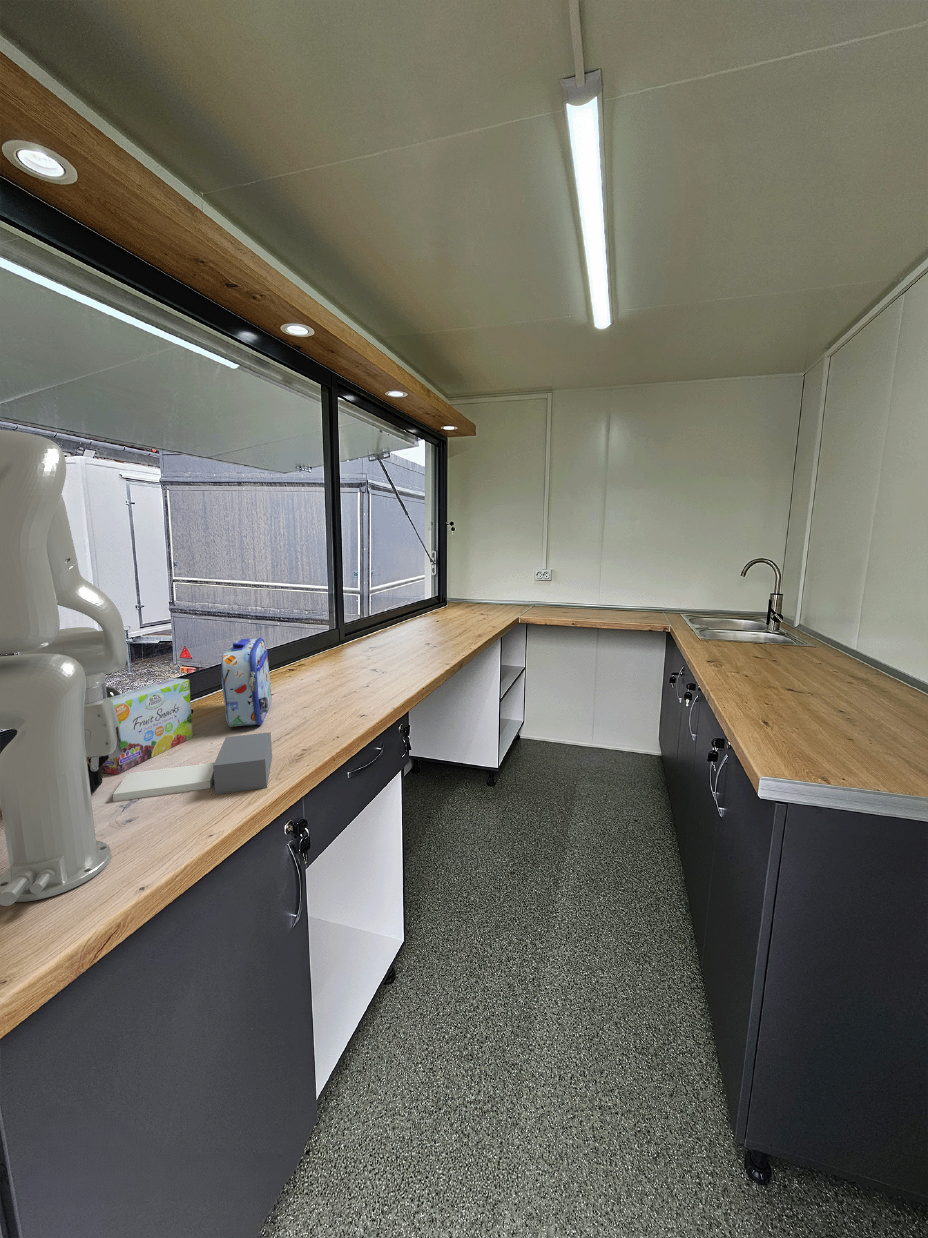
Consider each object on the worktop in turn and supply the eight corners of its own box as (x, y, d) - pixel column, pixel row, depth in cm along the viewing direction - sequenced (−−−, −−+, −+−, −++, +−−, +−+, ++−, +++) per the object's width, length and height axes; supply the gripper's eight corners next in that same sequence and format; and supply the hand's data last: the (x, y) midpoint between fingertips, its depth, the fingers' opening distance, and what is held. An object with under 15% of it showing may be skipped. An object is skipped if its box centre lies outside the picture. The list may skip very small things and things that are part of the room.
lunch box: (267, 732, 126) (262, 646, 123) (222, 737, 123) (215, 648, 120) (273, 701, 152) (269, 629, 149) (236, 704, 149) (231, 631, 146)
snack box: (120, 776, 102) (112, 704, 100) (97, 773, 103) (89, 702, 101) (195, 737, 123) (189, 677, 121) (175, 736, 124) (169, 676, 122)
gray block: (266, 787, 96) (265, 759, 96) (215, 794, 94) (213, 765, 93) (272, 757, 111) (270, 732, 110) (227, 762, 108) (225, 737, 107)
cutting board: (210, 790, 97) (209, 781, 96) (113, 804, 92) (112, 794, 91) (217, 771, 105) (216, 762, 105) (129, 782, 100) (128, 773, 100)
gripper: (21, 705, 86) (34, 805, 89) (121, 696, 91) (131, 792, 93) (42, 693, 93) (54, 786, 96) (134, 686, 98) (143, 775, 100)
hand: (92, 789), depth 94 cm, fingers closed
